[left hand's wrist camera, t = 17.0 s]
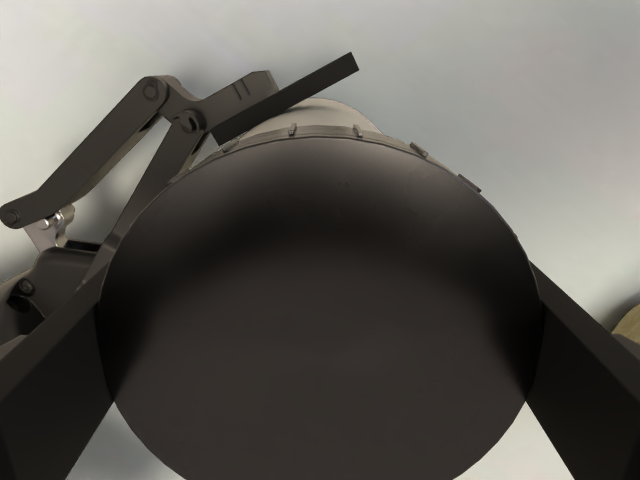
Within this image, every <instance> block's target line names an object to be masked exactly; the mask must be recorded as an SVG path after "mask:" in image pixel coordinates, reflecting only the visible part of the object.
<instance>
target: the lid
mask: <svg viewBox="0 0 640 480" xmlns="http://www.w3.org/2000/svg"><path fill="white" fill-rule="evenodd" d="M166 184H167V185H168V187H167V188H166V189H165V190H163V191H162V192H161V193H160V194H159V195H158V196H157V197H156V198H155V199H154V200H153V201H152V202H151V203H150V204H149V205H148V206H147V207H146V208H145V209H144V210H143V211H142V212H141V213H140V214H139V215H138V216H137V218H136V219H135V221H134V222H133V223H132V224H130V225H129V226H128V228H127V232H126V233H125V234H124V236H123V237H122V239H121V241H120V243H119V245H118V247H117V248H116V250H115V252H114V254H113V256H112V258H111V260H110V262H109V265H108V268H107V271H106V274H105V277H104V280H103V283H102V286H101V291H100V298H99V304H98V310H97V342H98V347H99V353H100V358H101V363H102V368H103V372H104V376H105V380H106V383H107V386H108V389H109V391H110V393H111V395H112V397H113V399H114V401H115V404H116V406H117V408H118V410H119V411H120V413H121V414H122V416H123V417H124V419H125V421H126V422H127V424H128V425H129V427H130V428H131V430H132V431H133V432H134V433H135V434H136V436H137V437H138V438H139V439H140V440H141V441H142V443H143V444H144V445H145V446H146V447H147V448H148V449H149V450H150V451H151V452H152V453H153V454H154V455H155V456H156V457H157V458H158V459H159V460H161V461H162V462H163V463H164V464H165V465H166V466H168V467H169V468H170V469H172V470H173V471H174V472H176V473H177V474H179V475H180V476H181V477H183V478H184V479H186V480H453V479H455V478H456V477H458V476H460V475H461V474H463V473H464V472H465V471H466V470H468V469H469V468H470V467H471V466H473V465H474V464H475V463H476V462H478V461H479V460H480V459H481V458H482V457H483V456H484V455H485V454H486V453H487V452H488V451H489V450H490V449H491V448H492V447H493V446H494V445H495V444H496V443H497V442H498V441H499V440H500V439H501V437H502V436H503V435H504V433H505V432H506V431H507V430H508V428H509V427H510V426H511V424H512V423H513V422H514V420H515V418H516V416H517V415H518V413H519V411H520V410H521V408H522V406H523V405H524V403H525V401H526V398H527V396H528V394H529V391H530V389H531V386H532V384H533V382H534V379H535V374H536V370H537V365H538V360H539V356H540V350H541V345H542V336H543V323H542V305H541V300H540V295H539V291H538V286H537V281H536V278H535V275H534V273H533V270H532V267H531V265H530V262H529V260H528V257H527V255H526V253H525V251H524V249H523V247H522V246H521V244H520V242H519V241H518V239H517V238H518V237H517V236H516V234H515V233H514V232H513V230H512V229H511V228H510V226H509V225H508V224H507V223H506V221H505V220H504V219H503V218H502V216H501V215H500V214H499V213H498V211H497V210H496V209H495V208H494V207H493V206H492V205H491V204H490V203H489V202H488V201H487V200H486V199H485V198H484V197H482V196H481V195H480V194H479V193H480V192H481V190H480V189H479V188H478V187H477V186H475V185H474V184H473V183H471V182H470V181H469V180H467V179H466V178H465V177H463V176H462V175H461V174H459V175H458V176H457V175H456V174H455V173H453V172H452V171H451V170H449V169H448V168H447V167H445V166H444V165H442V164H441V163H439V162H438V161H436V160H435V159H433V158H432V157H430V156H429V155H428V153H427V152H426V151H424V150H423V149H422V148H420V147H419V146H418V145H416V144H415V143H413V142H411V144H410V145H408V144H406V143H404V142H402V141H400V140H397V139H394V138H391V137H388V136H385V135H382V134H379V133H376V132H373V131H368V130H362V129H361V128H360V127H359V126H358V125H356V124H354V125H353V128H351V127H346V126H328V125H308V126H297V123H292V124H291V126H290V127H286V128H282V129H277V130H273V131H268V132H264V133H260V134H256V135H254V136H251V137H248V138H246V139H243V140H241V141H239V140H238V138H235V139H233V140H232V141H231V142H230V143H228V144H227V145H226V146H224V147H223V148H222V149H221V150H219V151H218V152H216V153H214V154H212V155H210V156H208V157H207V158H206V159H204V160H203V161H201V162H200V163H199V164H197V165H196V166H195V167H193V168H192V169H191V170H189V169H188V168H186V169H184V170H183V171H182V172H180V173H179V174H178V175H176V176H175V177H173V178H172V179H171V180H169V181H168V182H167V183H166Z"/></svg>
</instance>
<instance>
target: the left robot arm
mask: <svg viewBox="0 0 640 480" xmlns="http://www.w3.org/2000/svg"><path fill="white" fill-rule="evenodd" d="M109 262H110V261H109ZM109 262H108V263H107V264H106V265H105V266H104V267H103V268H101V269H100V270H99V271H98V272H97V273H96V274H95V275H94V276H93V277H92V278H90V279H89V280H88V281H87V282H86V283H85V284H84V285H83V286H82V287H80V288H79V289H78V290H77V291H76V292H75V293H74V294H73V295H72V296H71V297H69V298H68V299H67V300H66V301H65V302H64V303H63V304H62V305H61V306H60V307H58V308H57V309H56V310H55V311H54V312H53V313H52V314H51V315H50V316H49V317H47V318H46V319H45V320H44V321H43V322H42V323H41V324H40V325H39V326H37V327H36V328H35V329H34V330H33V331H32V332H31V333H30V334H29V335H20V336H18V337H16V338H14V339H13V340H11V341H9V342H7V343H5V344H3V345H1V346H0V480H65V479H66V477H67V476H68V474H69V473H70V471H71V469H72V468H73V466H74V464H75V463H76V461H77V460H78V458H79V456H80V455H81V453H82V452H83V450H84V448H85V447H86V445H87V444H88V442H89V440H90V439H91V437H92V436H93V434H94V432H95V431H96V429H97V428H98V426H99V424H100V423H101V421H102V419H103V418H104V416H105V415H106V413H107V411H108V410H109V408H110V407H111V405H112V403H113V402H114V399H113V397H112V395H111V393H110V391H109V389H108V386H107V383H106V380H105V376H104V372H103V368H102V363H101V358H100V353H99V347H98V342H97V310H98V304H99V298H100V291H101V286H102V283H103V280H104V277H105V274H106V271H107V268H108V265H109ZM529 262H530V265H531V267H532V270H533V273H534V275H535V278H536V281H537V286H538V291H539V295H540V300H541V305H542V323H543V336H542V345H541V350H540V356H539V360H538V365H537V370H536V374H535V379H534V382H533V384H532V386H531V389H530V391H529V394H528V396H527V398H526V402H527V404H528V405H529V407H530V409H531V410H532V412H533V414H534V415H535V417H536V418H537V420H538V422H539V423H540V425H541V426H542V428H543V430H544V431H545V433H546V434H547V436H548V438H549V439H550V441H551V442H552V444H553V446H554V447H555V449H556V450H557V452H558V454H559V455H560V457H561V459H562V460H563V462H564V463H565V465H566V467H567V468H568V470H569V471H570V473H571V475H572V476H573V478H574V479H575V480H640V344H638V343H636V342H634V341H632V340H630V339H629V338H627V337H625V336H623V335H621V334H610V333H609V332H608V331H607V330H606V329H604V328H603V327H602V326H601V325H600V324H599V323H598V322H597V321H596V320H594V319H593V318H592V317H591V316H590V315H589V314H588V313H587V312H586V311H585V310H583V309H582V308H581V307H580V306H579V305H578V304H577V303H576V302H575V301H574V300H572V299H571V298H570V297H569V296H568V295H567V294H566V293H565V292H564V291H563V290H561V289H560V288H559V287H558V286H557V285H556V284H555V283H554V282H553V281H551V280H550V279H549V278H548V277H547V276H546V275H545V274H544V273H543V272H542V271H540V270H539V269H538V268H537V267H536V266H535V265H534V264H533V263H532V262H531V261H529Z"/></svg>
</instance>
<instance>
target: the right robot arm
mask: <svg viewBox="0 0 640 480" xmlns="http://www.w3.org/2000/svg"><path fill="white" fill-rule="evenodd" d="M357 71H359V68H358V66H357V64H356V62H355V59H354V57H353V55H352V53H351V52H350V53H347V54H345V55H344V56H342V57H340V58H338V59H336V60H335V61H333V62H331V63H329V64H327V65H325V66H324V67H322V68H320V69H318V70H316V71H315V72H313V73H311V74H309V75H307V76H306V77H304V78H302V79H300V80H298V81H296V82H295V83H293V84H291V85H289V86H287V87H286V88H284V89H282V90H280V91H279V89H278V87H277V85H276V83H275V81H274V80H273V78H272V76H271V74H270V72H269V71H258V72H252V73H250V74H248V75H246V76H245V77H243V78H241V79H239V80H237V81H236V82H234V83H232V84H230V85H229V86H227V87H225V88H223V89H222V90H220V91H218V92H216V93H214V94H213V95H211V96H209V97H207V98H206V99H199V98H196V97H194V96H193V95H191V94H190V93H189V92H188V91H187V90H186V89H184V88H183V87H182V85H181V83H180V82H179V80H178V79H176V78H175V77H173V76H169V75H165V76H148V77H144V78H142V79H141V80H140V81H139V82H138V83H137V84H136V85H135V86H134V87H133V88H132V89H131V90H130V91H129V92H128V93H127V95H126V96H125V97H124V98H123V99H122V100H121V101H120V102H119V103H118V104H117V105H116V106H115V107H114V108H113V110H112V111H111V112H110V113H109V114H108V115H107V116H106V117H105V118H104V119H103V120H102V121H101V122H100V123H99V125H98V126H97V127H96V128H95V129H94V130H93V131H92V132H91V133H90V134H89V135H88V136H87V137H86V138H85V140H84V141H83V142H82V143H81V144H80V145H79V146H78V147H77V148H76V149H75V150H74V151H73V152H72V154H71V155H70V156H69V157H68V158H67V159H66V160H65V161H64V162H63V163H62V164H61V165H60V166H59V167H58V169H57V170H56V171H55V172H54V173H53V174H52V175H51V176H50V177H49V178H48V179H47V180H46V181H45V182H44V184H43V185H42V186H41V187H40V188H39V189H38V190H36V191H34V192H32V193H29V194H27V195H25V196H22V197H20V198H18V199H16V200H13V201H11V202H9V203H6V204H4V205H3V206H2V207H1V208H0V220H1V221H2V222H3V224H4V225H6V226H7V227H9V228H12V229H19V228H22V227H23V228H24V230H25V231H26V233H27V234H28V235H29V237H30V238H31V240H32V241H33V243H34V244H35V246H36V247H37V249H38V250H39V252H40V254H39V256H38V257H37V259H36V261H35V263H34V265H33V267H32V268H30V269H28V270H27V271H25V272H23V273H21V274H19V275H17V276H15V277H13V278H12V279H10V280H8V281H6V282H4V283H2V284H0V346H1V345H3V344H5V343H7V342H9V341H11V340H13V339H14V338H16V337H18V336H20V335H29V334H30V333H31V332H32V331H33V330H34V329H35V328H36V327H37V326H39V325H40V324H41V323H42V322H43V321H44V320H45V319H46V318H47V317H49V316H50V315H51V314H52V313H53V312H54V311H55V310H56V309H57V308H58V307H60V306H61V305H62V304H63V303H64V302H65V301H66V300H67V299H68V298H69V297H71V296H72V295H73V294H74V293H75V292H76V291H77V290H78V289H79V288H80V287H82V286H83V285H84V284H85V283H86V282H87V281H88V280H89V279H90V278H92V277H93V276H94V275H95V274H96V273H97V272H98V271H99V270H100V269H101V268H103V267H104V266H105V265H106V264H107V263H108V262H109V261H110V260H111V258H112V256H113V254H114V252H115V250H116V248H117V247H118V245H119V243H120V241H121V239H122V237H123V236H124V234H125V233H126V232H127V228H128V226H129V225H130V224H132V223H133V222H134V221H135V219H136V218H137V216H138V215H139V214H140V213H141V212H142V211H143V210H144V209H145V208H146V207H147V206H148V205H149V204H150V203H151V202H152V201H153V200H154V199H155V198H156V197H157V196H158V195H159V194H160V193H161V192H162V191H163V190H165V189H166V188H167V187H168V185H167V184H166V183H167V182H168V181H169V180H171V179H172V178H173V177H175V176H176V175H178V174H179V173H180V172H182V171H183V170H184V169H186V168H188V169H189V168H190V166H191V164H192V163H193V161H194V159H195V158H196V156H197V154H198V152H199V151H200V149H201V147H202V146H203V144H204V142H205V141H206V139H207V137H208V136H209V134H210V132H211V133H212V135H213V137H214V138H215V140H216V142H217V144H218V145H219V146H220V145H222V144H224V143H226V142H228V141H230V140H231V139H233V138H235V137H237V136H239V135H241V134H242V133H244V132H246V131H248V130H250V129H252V128H253V127H255V126H257V125H259V124H261V123H263V122H265V121H266V120H268V119H270V118H272V117H274V116H276V115H277V114H279V113H281V112H283V111H285V110H287V109H289V108H290V107H292V106H294V105H296V104H298V103H300V102H301V101H303V100H305V99H307V98H309V97H311V96H312V95H314V94H316V93H318V92H320V91H322V90H324V89H325V88H327V87H329V86H331V85H333V84H335V83H336V82H338V81H340V80H342V79H344V78H346V77H348V76H349V75H351V74H353V73H355V72H357ZM162 117H165V118H166V119H167V120H168V121H169V122H170V123H172V125H171V127H170V129H169V130H168V132H167V134H166V136H165V137H164V139H163V141H162V143H161V145H160V146H159V148H158V150H157V152H156V153H155V155H154V157H153V159H152V161H151V162H150V164H149V166H148V168H147V169H146V171H145V173H144V175H143V177H142V178H141V180H140V182H139V184H138V185H137V187H136V189H135V191H134V193H133V194H132V196H131V198H130V200H129V201H128V203H127V205H126V207H125V209H124V210H123V212H122V214H121V216H120V217H119V219H118V221H117V223H116V225H115V226H114V228H113V230H112V231H111V233H110V234H109V235H108V237H107V238H106V239H105V240H104V242H103V243H96V242H88V241H81V240H74V239H67V237H66V234H65V230H66V227H67V225H69V224H70V223H71V222H72V221H73V219H74V212H75V208H74V206H73V205H72V203H74V202H76V201H77V200H79V199H80V198H82V197H83V196H85V195H86V194H87V193H88V192H89V191H91V190H92V189H93V188H94V187H95V186H96V185H97V184H98V183H99V182H100V180H101V179H102V178H103V177H104V176H105V175H106V174H107V173H108V172H109V171H110V170H111V169H112V168H113V167H114V166H115V165H116V164H117V163H118V162H119V161H120V160H121V159H122V158H123V157H124V156H125V155H126V154H127V153H128V152H129V151H130V150H131V149H132V148H133V147H134V146H135V145H136V144H137V143H138V142H139V141H140V139H141V138H142V137H143V136H144V135H145V134H146V133H147V132H148V131H149V130H150V129H151V128H152V127H153V126H154V125H155V124H156V123H157V122H158V121H159V120H160V119H161V118H162Z"/></svg>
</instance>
